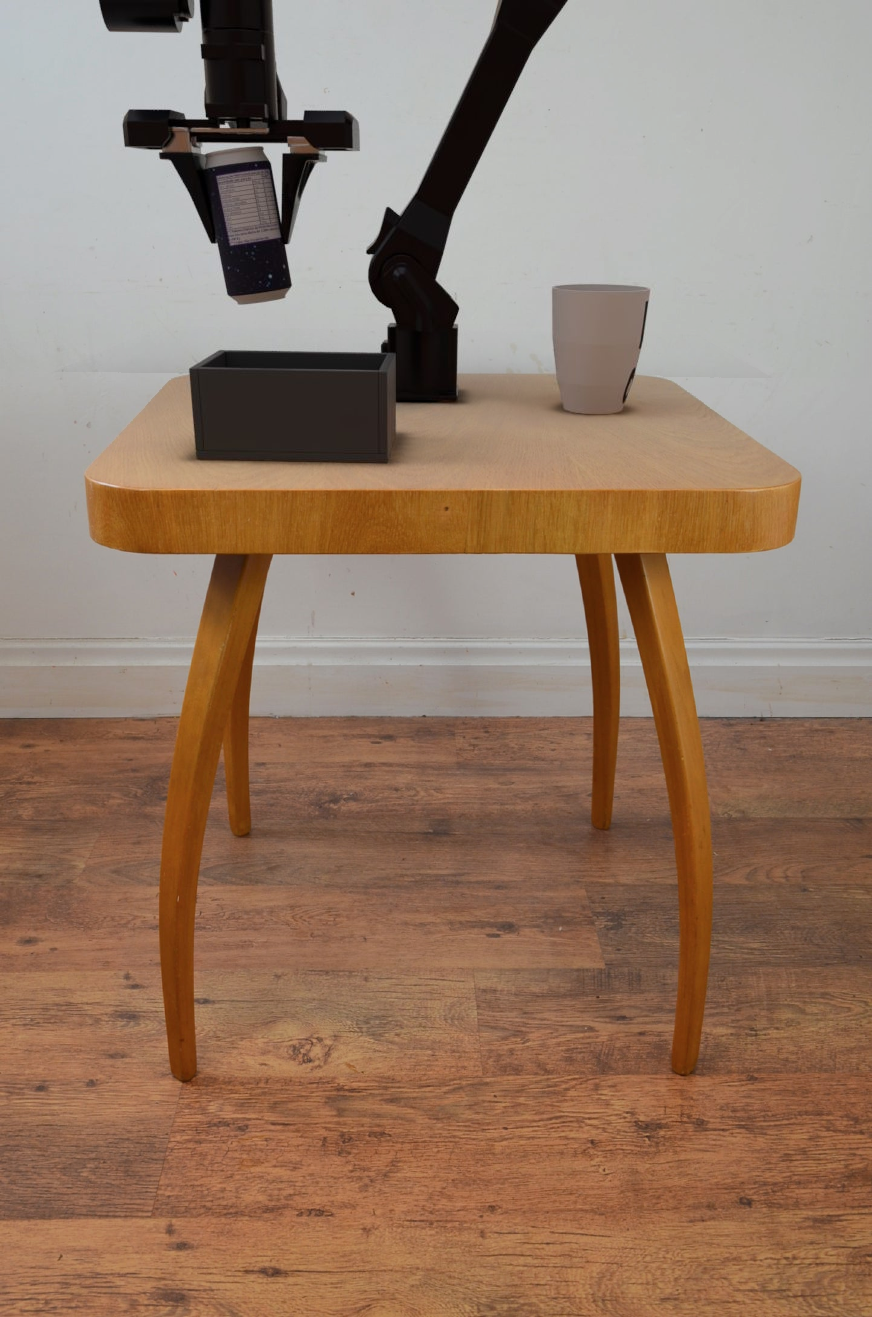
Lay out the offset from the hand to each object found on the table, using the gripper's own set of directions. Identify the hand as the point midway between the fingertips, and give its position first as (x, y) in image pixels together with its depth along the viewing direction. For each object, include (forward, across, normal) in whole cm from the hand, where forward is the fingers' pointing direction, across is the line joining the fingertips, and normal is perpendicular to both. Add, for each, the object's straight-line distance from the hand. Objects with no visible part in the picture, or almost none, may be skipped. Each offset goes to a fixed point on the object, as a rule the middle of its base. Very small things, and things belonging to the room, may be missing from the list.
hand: (250, 243), depth 90 cm
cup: (+13, -30, +3) cm, 33 cm away
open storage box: (+13, -7, +21) cm, 25 cm away
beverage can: (+5, -1, 0) cm, 5 cm away
